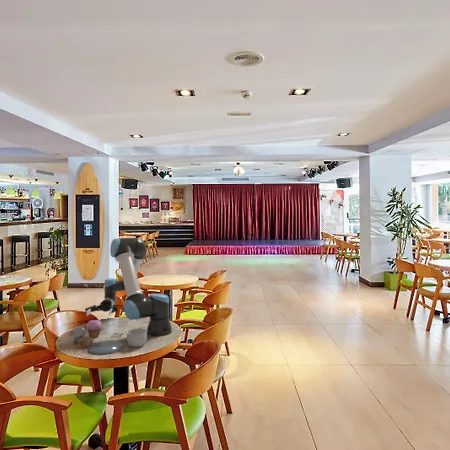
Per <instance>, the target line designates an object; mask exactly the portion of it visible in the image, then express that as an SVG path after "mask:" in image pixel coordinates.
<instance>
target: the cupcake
mask: <svg viewBox="0 0 450 450" xmlns="http://www.w3.org/2000/svg"><path fill="white" fill-rule="evenodd" d="M85 327H86V330H87V331H88V336H89V337H93V339H95V338H98V337H99V336H100V334H101V329H102V327H103V323H102V322H101V320H99V319H92V320H89V321H88V322H87V323H86V326H85Z"/></svg>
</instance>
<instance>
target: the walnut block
mask: <svg viewBox="0 0 450 450" xmlns="http://www.w3.org/2000/svg"><path fill="white" fill-rule="evenodd" d="M93 344H94V338H93V337H90V336H89V337H88V336H85V337H82V338H81V339H79V340H78V344H77V349H89V347H90V346H91V345H93Z"/></svg>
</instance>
